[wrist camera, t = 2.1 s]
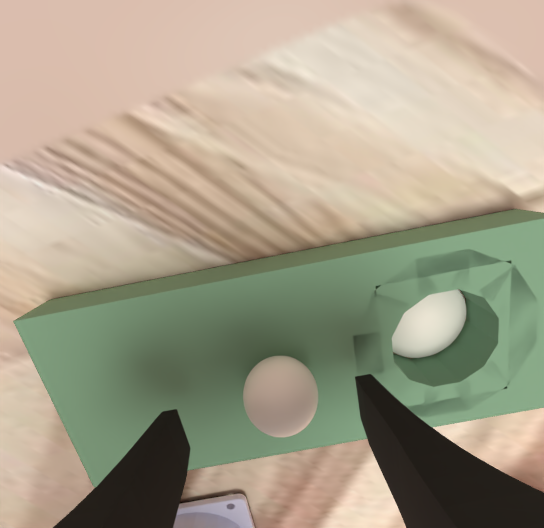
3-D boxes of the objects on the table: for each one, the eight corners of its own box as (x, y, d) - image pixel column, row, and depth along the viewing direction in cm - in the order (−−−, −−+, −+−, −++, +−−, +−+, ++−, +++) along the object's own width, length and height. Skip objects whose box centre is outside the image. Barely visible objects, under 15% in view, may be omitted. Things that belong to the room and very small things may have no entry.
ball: (252, 404, 15) (250, 463, 12) (238, 348, 14) (231, 396, 11) (316, 392, 15) (330, 449, 12) (306, 335, 14) (318, 381, 11)
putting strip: (114, 448, 19) (93, 487, 16) (49, 299, 16) (13, 321, 13) (509, 377, 18) (545, 407, 16) (514, 209, 15) (560, 215, 13)
